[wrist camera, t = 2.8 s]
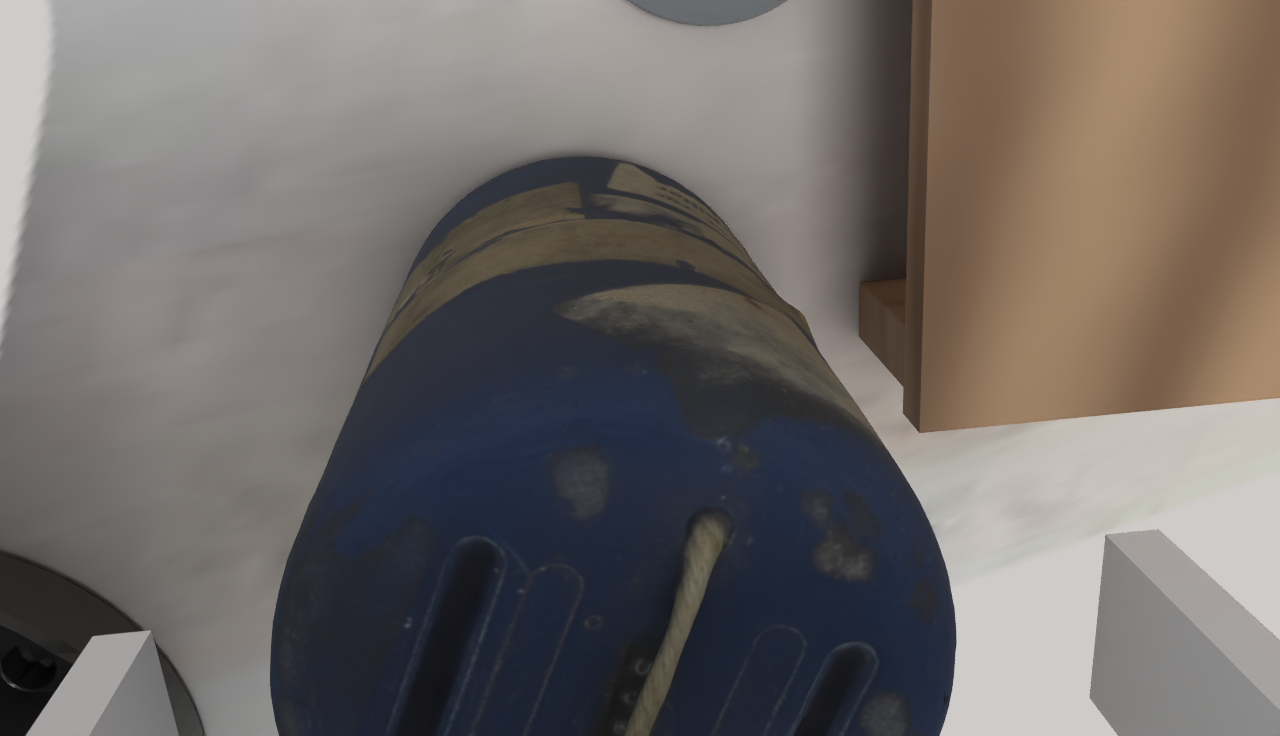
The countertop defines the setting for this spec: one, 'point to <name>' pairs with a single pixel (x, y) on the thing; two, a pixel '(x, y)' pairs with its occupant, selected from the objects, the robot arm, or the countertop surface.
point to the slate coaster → (708, 10)
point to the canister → (606, 497)
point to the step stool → (1086, 211)
